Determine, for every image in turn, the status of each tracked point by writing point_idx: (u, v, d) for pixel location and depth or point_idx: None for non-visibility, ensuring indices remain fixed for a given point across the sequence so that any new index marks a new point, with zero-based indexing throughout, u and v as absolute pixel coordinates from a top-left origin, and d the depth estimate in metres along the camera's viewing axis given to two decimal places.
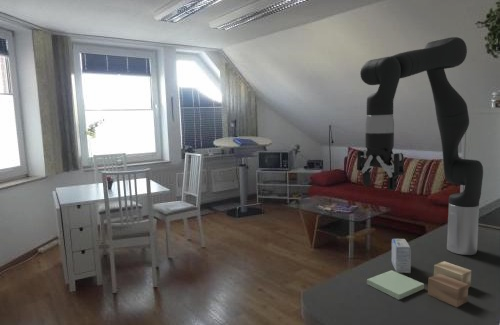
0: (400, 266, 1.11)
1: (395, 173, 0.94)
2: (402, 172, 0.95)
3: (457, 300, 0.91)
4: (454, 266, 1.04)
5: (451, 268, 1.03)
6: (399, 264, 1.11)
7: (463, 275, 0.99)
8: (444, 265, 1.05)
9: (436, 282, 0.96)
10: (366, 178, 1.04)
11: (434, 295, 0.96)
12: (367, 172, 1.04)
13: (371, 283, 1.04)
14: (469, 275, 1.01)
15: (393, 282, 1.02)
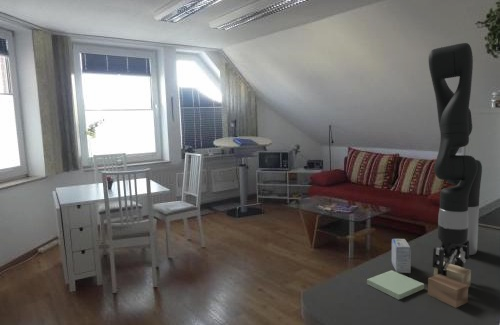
0: (400, 266, 1.11)
1: (467, 257, 1.05)
2: None
3: (456, 301, 0.91)
4: (454, 265, 1.04)
5: (451, 268, 1.03)
6: (399, 264, 1.11)
7: (464, 275, 0.99)
8: None
9: (435, 282, 0.95)
10: None
11: (434, 295, 0.96)
12: None
13: (371, 283, 1.04)
14: (469, 274, 1.01)
15: (393, 282, 1.02)
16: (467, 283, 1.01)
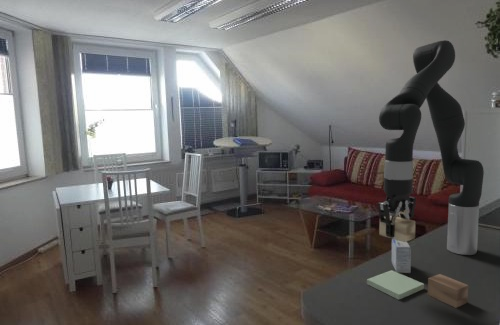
0: (400, 266, 1.11)
1: (412, 215, 1.02)
2: None
3: (456, 301, 0.91)
4: (399, 218, 1.01)
5: (396, 220, 1.00)
6: (399, 264, 1.11)
7: (407, 225, 0.96)
8: None
9: (435, 282, 0.95)
10: None
11: (434, 295, 0.96)
12: None
13: (371, 283, 1.04)
14: (413, 225, 0.98)
15: (393, 282, 1.02)
16: (411, 234, 0.98)
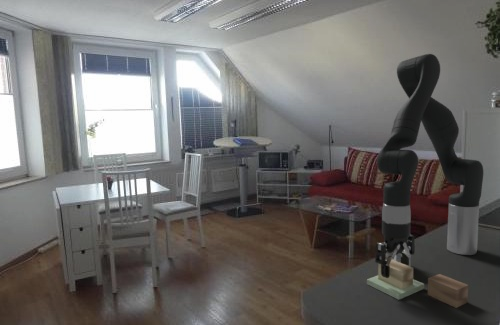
0: None
1: (413, 252, 1.04)
2: None
3: (456, 301, 0.91)
4: (398, 263, 1.03)
5: (394, 265, 1.02)
6: None
7: (405, 272, 0.98)
8: None
9: (436, 282, 0.95)
10: None
11: (434, 295, 0.96)
12: None
13: (371, 283, 1.04)
14: (411, 272, 1.00)
15: None
16: (409, 281, 1.00)
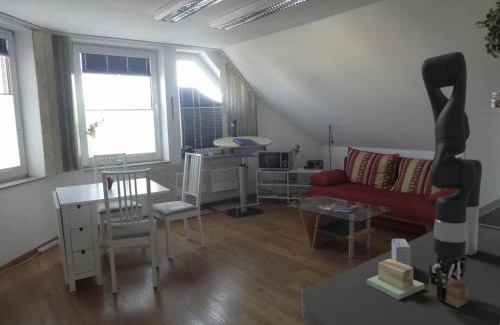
0: None
1: (462, 275, 0.96)
2: None
3: (458, 300, 0.91)
4: (398, 263, 1.03)
5: (394, 265, 1.02)
6: None
7: (405, 272, 0.98)
8: (388, 262, 1.04)
9: None
10: None
11: (435, 295, 0.96)
12: None
13: (371, 283, 1.04)
14: (411, 272, 1.00)
15: None
16: (409, 281, 1.00)
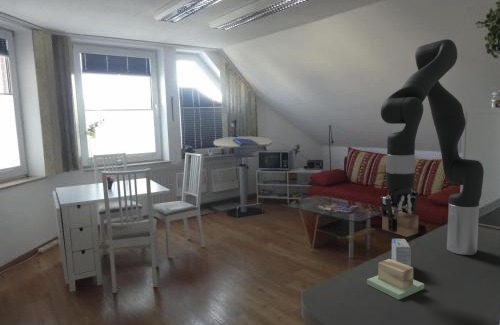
0: None
1: (414, 210, 1.01)
2: None
3: (407, 230, 0.95)
4: (398, 263, 1.03)
5: (394, 265, 1.02)
6: None
7: (405, 272, 0.98)
8: (388, 262, 1.04)
9: None
10: None
11: (387, 228, 1.01)
12: None
13: (371, 283, 1.04)
14: (411, 272, 1.00)
15: None
16: (409, 281, 1.00)
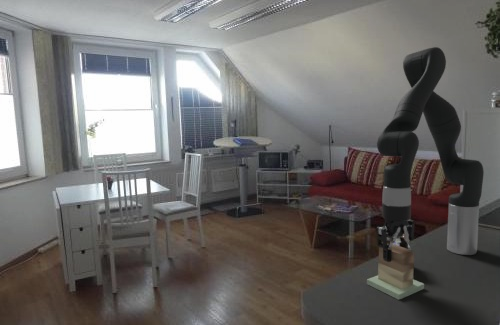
0: None
1: (412, 238, 1.03)
2: None
3: (402, 265, 0.97)
4: None
5: None
6: None
7: (405, 272, 0.98)
8: None
9: None
10: None
11: (384, 262, 1.03)
12: None
13: (371, 283, 1.04)
14: (411, 272, 1.00)
15: None
16: (409, 281, 1.00)
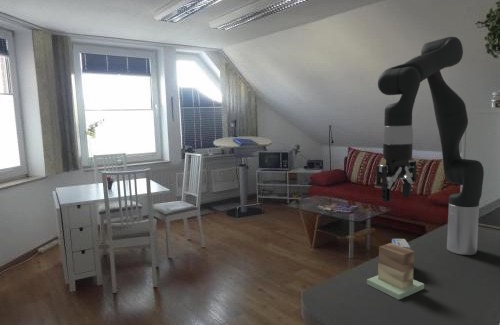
0: None
1: (415, 179, 1.01)
2: None
3: (402, 265, 0.97)
4: None
5: None
6: None
7: (405, 272, 0.98)
8: None
9: (385, 249, 1.02)
10: None
11: (384, 262, 1.03)
12: None
13: (371, 283, 1.04)
14: (411, 272, 1.00)
15: None
16: (409, 281, 1.00)
